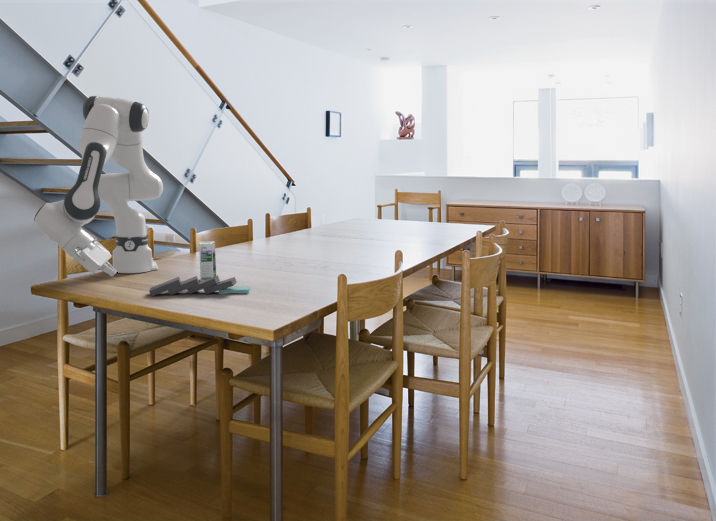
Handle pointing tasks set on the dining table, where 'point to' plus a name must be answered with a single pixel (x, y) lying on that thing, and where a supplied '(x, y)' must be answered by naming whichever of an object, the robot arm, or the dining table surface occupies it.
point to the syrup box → (207, 260)
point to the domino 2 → (184, 285)
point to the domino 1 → (165, 286)
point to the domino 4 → (221, 285)
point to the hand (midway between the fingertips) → (114, 274)
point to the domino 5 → (235, 290)
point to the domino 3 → (204, 284)
